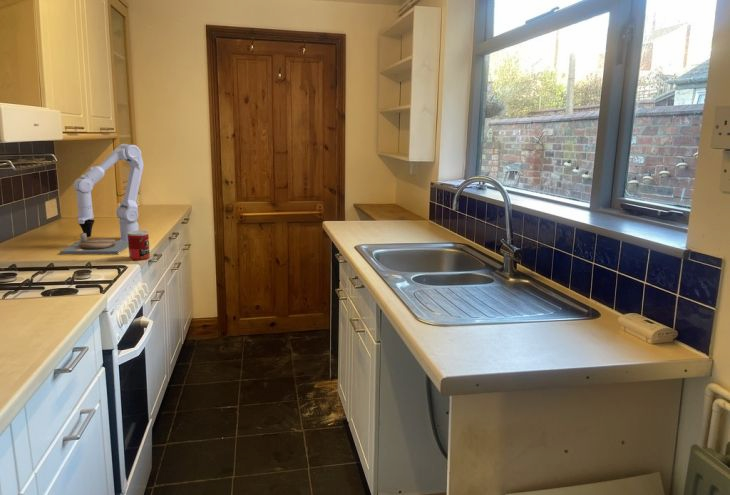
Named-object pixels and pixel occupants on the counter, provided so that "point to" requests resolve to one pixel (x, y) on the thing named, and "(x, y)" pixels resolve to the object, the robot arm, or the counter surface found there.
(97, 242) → the dial
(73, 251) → the board
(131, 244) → the canned food
